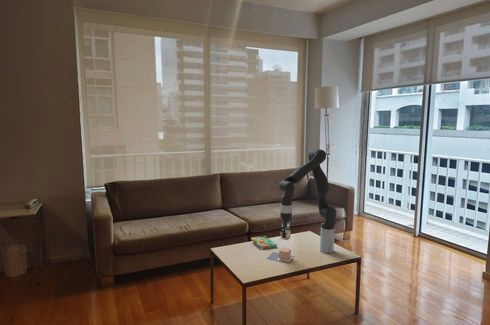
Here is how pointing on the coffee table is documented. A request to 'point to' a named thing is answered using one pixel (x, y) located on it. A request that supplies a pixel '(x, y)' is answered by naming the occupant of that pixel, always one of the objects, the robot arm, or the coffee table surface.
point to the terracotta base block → (284, 254)
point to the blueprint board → (275, 257)
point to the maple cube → (286, 235)
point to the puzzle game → (263, 242)
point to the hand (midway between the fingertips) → (285, 236)
